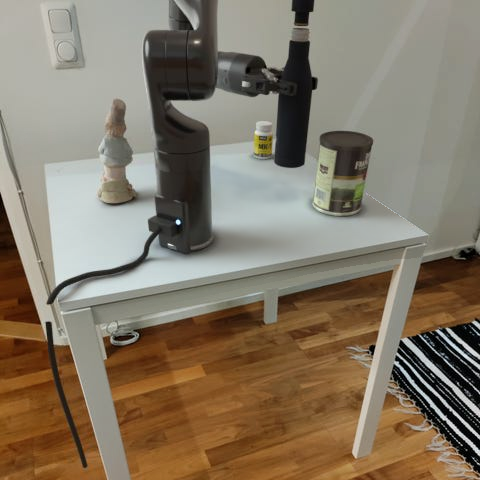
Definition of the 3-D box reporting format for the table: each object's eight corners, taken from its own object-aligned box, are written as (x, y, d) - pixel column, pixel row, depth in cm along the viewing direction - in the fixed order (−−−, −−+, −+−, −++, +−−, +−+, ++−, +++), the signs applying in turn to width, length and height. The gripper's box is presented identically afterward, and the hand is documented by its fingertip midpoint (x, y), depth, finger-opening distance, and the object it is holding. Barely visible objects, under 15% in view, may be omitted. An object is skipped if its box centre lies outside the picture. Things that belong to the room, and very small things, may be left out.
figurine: (140, 203, 99) (127, 102, 87) (99, 207, 98) (80, 104, 85) (136, 187, 106) (124, 91, 94) (98, 190, 104) (81, 93, 92)
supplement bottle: (256, 160, 121) (257, 126, 116) (251, 154, 125) (252, 121, 120) (274, 158, 123) (276, 125, 117) (268, 152, 126) (270, 120, 121)
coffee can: (368, 203, 101) (381, 136, 92) (349, 221, 94) (361, 149, 85) (324, 192, 105) (333, 127, 97) (303, 208, 98) (310, 139, 90)
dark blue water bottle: (310, 164, 98) (330, -11, 80) (286, 170, 95) (302, -10, 77) (291, 155, 102) (306, -13, 84) (268, 161, 99) (278, -12, 81)
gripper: (215, 57, 90) (285, 69, 82) (261, 49, 99) (329, 59, 91) (215, 99, 95) (282, 114, 86) (260, 88, 104) (324, 101, 95)
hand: (306, 86), depth 88 cm, fingers closed on dark blue water bottle, 6 cm apart
